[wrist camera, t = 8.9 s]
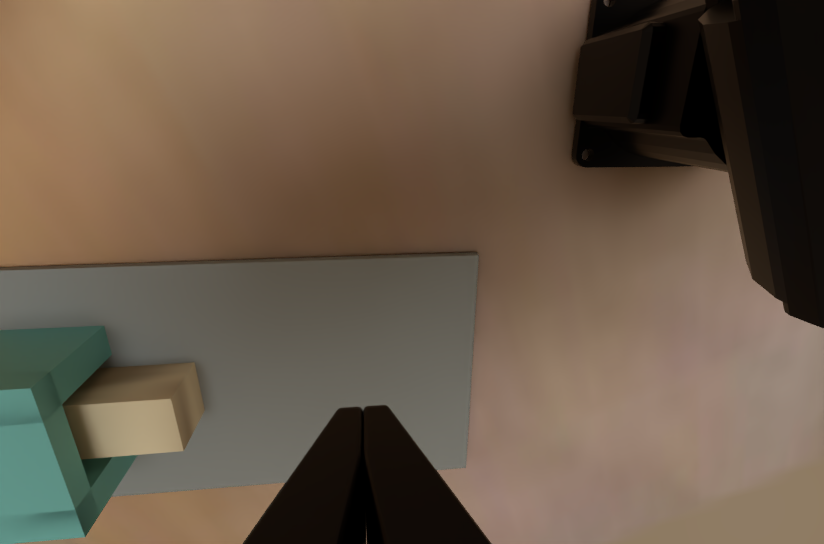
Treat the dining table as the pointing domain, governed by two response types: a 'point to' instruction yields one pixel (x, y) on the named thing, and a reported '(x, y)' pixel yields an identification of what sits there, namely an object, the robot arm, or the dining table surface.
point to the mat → (275, 350)
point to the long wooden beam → (135, 410)
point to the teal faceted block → (49, 436)
